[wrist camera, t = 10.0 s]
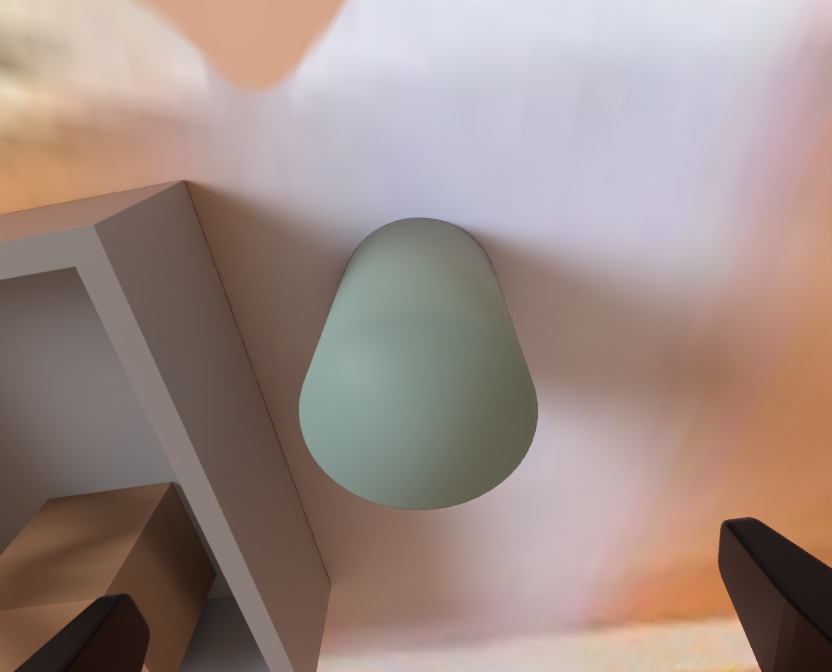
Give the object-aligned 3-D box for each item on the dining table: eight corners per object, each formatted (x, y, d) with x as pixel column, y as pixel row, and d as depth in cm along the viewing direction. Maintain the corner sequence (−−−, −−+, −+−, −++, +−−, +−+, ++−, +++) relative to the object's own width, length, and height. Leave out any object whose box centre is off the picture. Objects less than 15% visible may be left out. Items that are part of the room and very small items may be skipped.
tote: (183, 179, 16) (92, 224, 12) (331, 586, 24) (310, 706, 19) (-222, 257, 17) (-445, 325, 13) (42, 620, 25) (-40, 741, 21)
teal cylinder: (486, 204, 16) (526, 292, 10) (504, 349, 19) (546, 494, 12) (325, 232, 17) (268, 333, 11) (361, 371, 19) (331, 522, 13)
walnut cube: (171, 481, 21) (102, 598, 16) (216, 573, 23) (166, 698, 18) (48, 498, 21) (-53, 617, 17) (104, 587, 23) (28, 713, 19)
